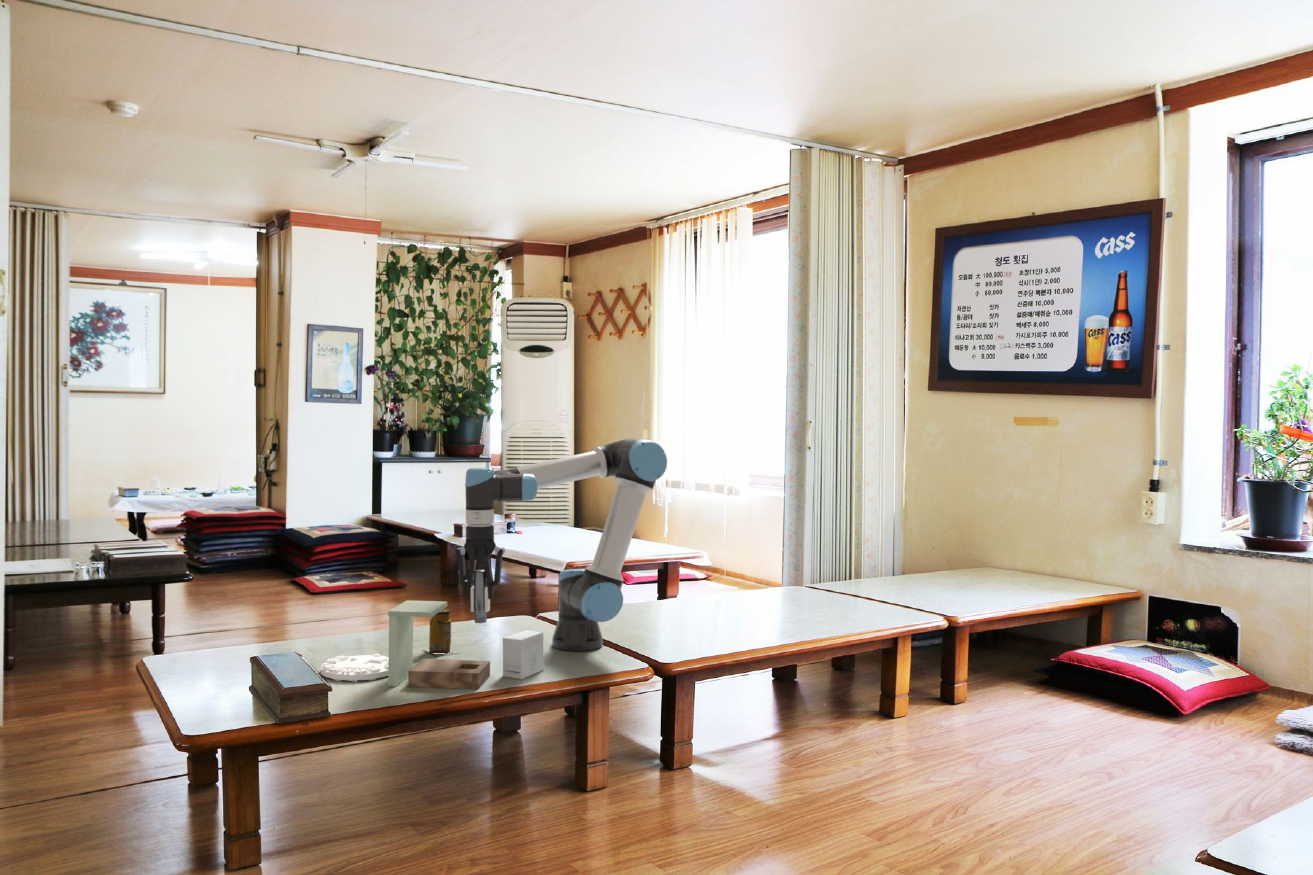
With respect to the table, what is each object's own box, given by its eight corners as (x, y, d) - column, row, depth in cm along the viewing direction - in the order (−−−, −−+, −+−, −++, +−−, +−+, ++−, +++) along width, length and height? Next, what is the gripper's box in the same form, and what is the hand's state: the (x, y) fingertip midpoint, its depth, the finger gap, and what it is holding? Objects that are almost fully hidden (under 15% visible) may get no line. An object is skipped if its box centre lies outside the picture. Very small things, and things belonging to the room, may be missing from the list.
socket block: (489, 675, 248) (490, 660, 248) (478, 689, 236) (478, 673, 236) (423, 673, 249) (423, 658, 249) (408, 686, 237) (408, 670, 237)
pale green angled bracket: (446, 673, 250) (447, 601, 249) (430, 688, 236) (431, 612, 235) (405, 671, 250) (406, 600, 250) (387, 686, 236) (388, 611, 236)
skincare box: (524, 667, 258) (525, 629, 257) (544, 670, 255) (544, 631, 254) (501, 676, 248) (501, 636, 248) (521, 679, 245) (521, 639, 245)
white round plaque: (414, 670, 254) (414, 660, 253) (357, 687, 237) (357, 676, 236) (362, 659, 264) (362, 649, 264) (304, 674, 247) (304, 663, 247)
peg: (487, 620, 257) (487, 569, 256) (484, 623, 253) (484, 571, 253) (476, 620, 257) (475, 569, 256) (473, 623, 254) (472, 571, 253)
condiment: (445, 647, 278) (446, 606, 277) (459, 653, 271) (459, 611, 271) (422, 650, 273) (423, 609, 273) (435, 656, 267) (436, 614, 266)
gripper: (446, 526, 251) (447, 613, 252) (506, 526, 250) (506, 614, 251) (454, 522, 259) (454, 607, 259) (512, 523, 258) (512, 608, 258)
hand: (480, 610), depth 255 cm, fingers closed on peg, 3 cm apart
